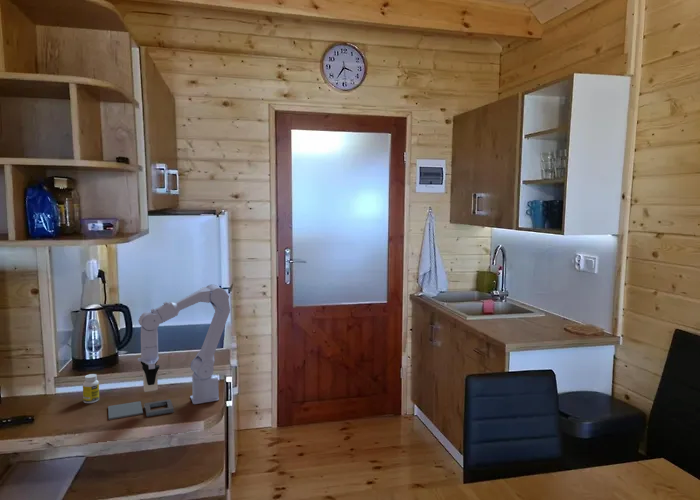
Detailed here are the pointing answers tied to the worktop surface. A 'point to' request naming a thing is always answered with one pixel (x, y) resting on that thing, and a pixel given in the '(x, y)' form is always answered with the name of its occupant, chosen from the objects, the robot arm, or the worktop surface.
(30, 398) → the worktop surface
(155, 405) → the square socket
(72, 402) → the worktop surface
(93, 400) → the supplement bottle
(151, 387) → the square peg block
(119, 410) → the rubber mat
